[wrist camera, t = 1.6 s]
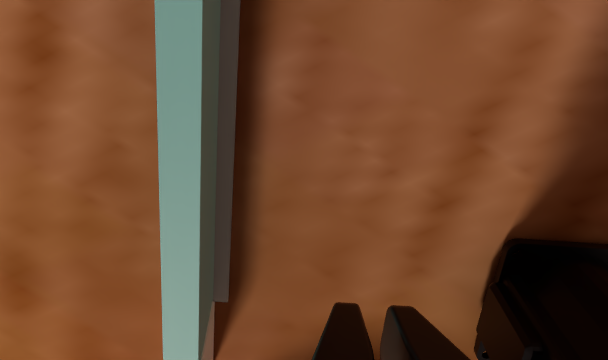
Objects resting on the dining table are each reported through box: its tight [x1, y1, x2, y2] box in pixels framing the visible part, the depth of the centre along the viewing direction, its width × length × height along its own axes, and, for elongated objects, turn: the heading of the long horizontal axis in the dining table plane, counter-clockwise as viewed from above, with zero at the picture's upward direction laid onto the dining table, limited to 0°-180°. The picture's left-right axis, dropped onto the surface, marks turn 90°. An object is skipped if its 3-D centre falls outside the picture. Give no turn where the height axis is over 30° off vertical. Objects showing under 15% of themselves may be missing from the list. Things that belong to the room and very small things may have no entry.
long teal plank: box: [155, 0, 221, 360], centre depth 18 cm, size 14×1×4 cm, turn 175°
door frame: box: [201, 0, 240, 360], centre depth 17 cm, size 2×26×5 cm, turn 175°
